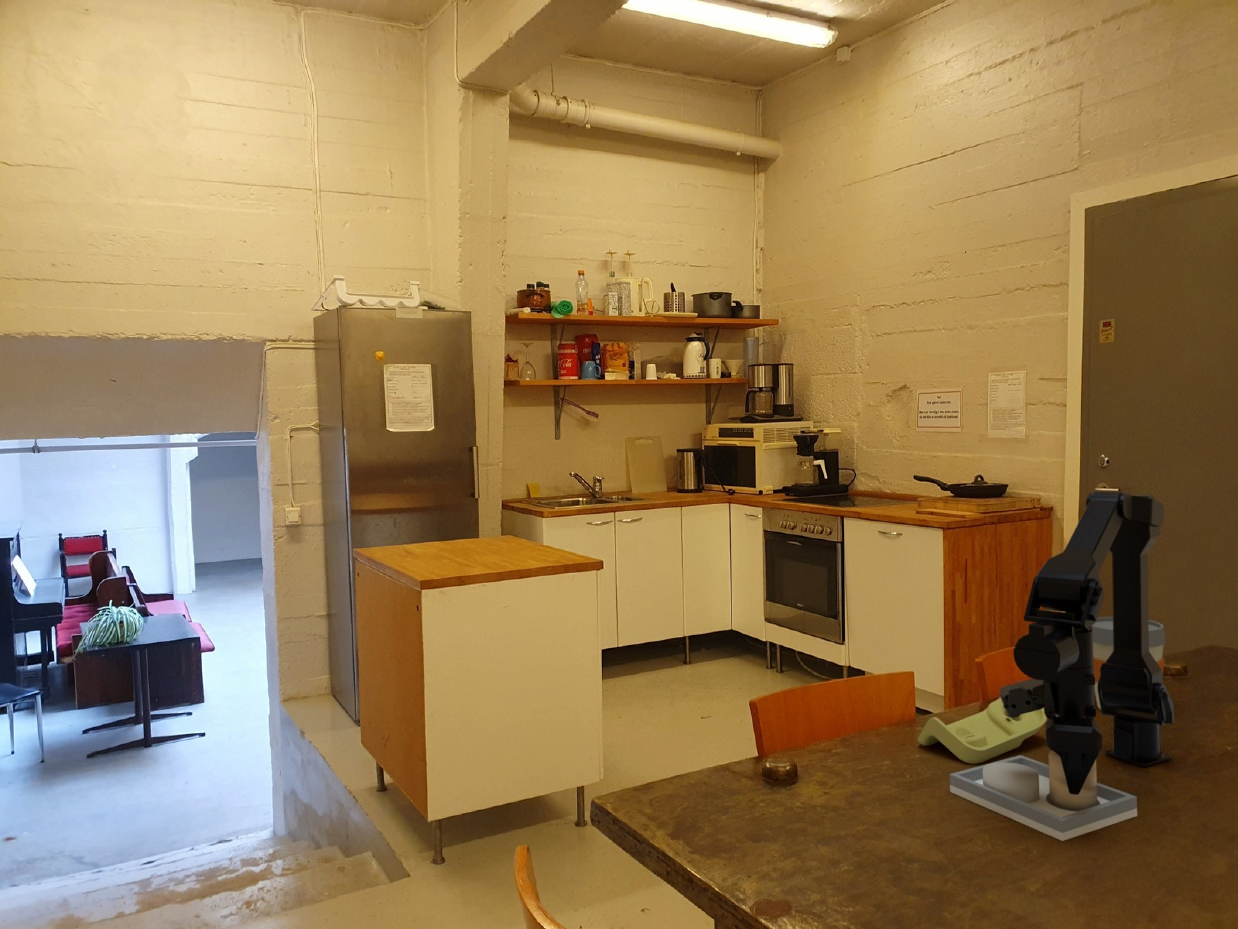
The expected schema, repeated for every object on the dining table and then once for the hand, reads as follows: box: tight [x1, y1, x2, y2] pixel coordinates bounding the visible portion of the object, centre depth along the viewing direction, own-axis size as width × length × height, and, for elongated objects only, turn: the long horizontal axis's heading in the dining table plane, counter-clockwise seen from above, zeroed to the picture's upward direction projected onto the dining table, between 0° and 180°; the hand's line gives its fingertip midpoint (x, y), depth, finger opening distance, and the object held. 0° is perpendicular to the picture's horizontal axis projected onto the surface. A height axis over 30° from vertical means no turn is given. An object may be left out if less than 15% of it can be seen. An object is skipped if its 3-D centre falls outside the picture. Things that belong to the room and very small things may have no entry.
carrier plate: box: [949, 754, 1138, 842], centre depth 122 cm, size 14×18×4 cm
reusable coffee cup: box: [1092, 616, 1167, 710], centre depth 160 cm, size 13×13×15 cm
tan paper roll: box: [1048, 749, 1098, 809], centre depth 120 cm, size 6×6×6 cm
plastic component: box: [917, 696, 1048, 765], centre depth 146 cm, size 20×7×10 cm
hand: (1072, 781), depth 120 cm, fingers open, 9 cm apart
